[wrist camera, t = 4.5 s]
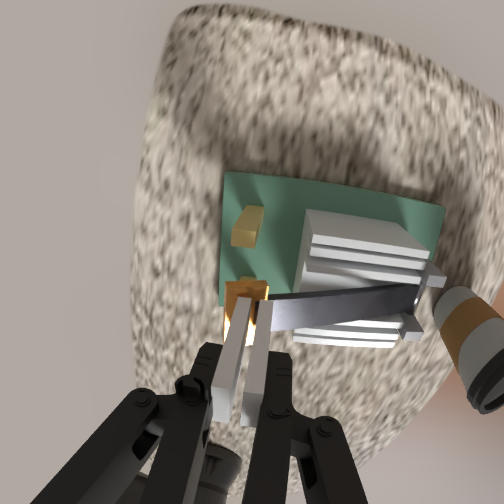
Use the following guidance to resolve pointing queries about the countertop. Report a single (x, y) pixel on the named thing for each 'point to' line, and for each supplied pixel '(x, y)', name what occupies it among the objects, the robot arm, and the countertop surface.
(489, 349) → the coffee cup
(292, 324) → the strap
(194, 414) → the robot arm
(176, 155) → the countertop surface
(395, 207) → the heatsink base
